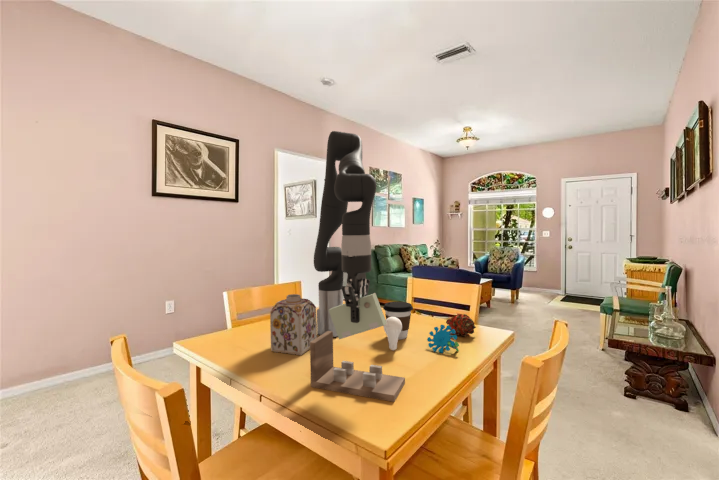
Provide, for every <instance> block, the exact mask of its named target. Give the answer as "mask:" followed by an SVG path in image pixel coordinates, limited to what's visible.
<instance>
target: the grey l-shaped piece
mask: <svg viewBox="0 0 719 480" xmlns="http://www.w3.org/2000/svg"><path fill="white" fill-rule="evenodd" d="M309 354H310V355H309V356H310V357H309V359H310V387H311V388H316V389H320V390H328V391H332V392H338V393H344V394H347V395H348V394H349V395H354V396H360V397H366V398H370V399H376V400H382V401H386V402H387V401H388V402H393V403H394V402H395V401H397V398H398V397H399V395H400V393H401V391H402V390H403V387H404V385H405V384H406V377H405V376H404V377H403V376H397V375H390V374H383V366H382V365H376V364H375V365H374V364H370V365H369V371H364V370H358V369H357V370H356V369H354V366H355V365H354V364H355V363H354V362H353V361H348V360H342V361H341V367H338V366H337V367H336V366H334V337H333V331H327V332H325V333H324V334H322V335H319V336H317V338H316V339H314V340H313V341H311V342H310V349H309Z"/></svg>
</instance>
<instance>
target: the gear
mask: <svg viewBox="0 0 719 480" xmlns="http://www.w3.org/2000/svg"><path fill="white" fill-rule="evenodd" d="M450 329H451V327H450V326H449V325H446V326H445V325H444V324H440V328H439V326H434V328H433V330H434V331H435V334H434V332H433V331H432V330H431V331H429V332H428V334H429V335H430V336H431V337H433V338H431V337H430V336H427V339H426V341H427V342H428V348H430V349H431V348H432V349H431V350H432V351H433V352H434V353H437V350H438V352H439V353H441V354H443V353H444V349H445V350H446V351H447V352H448V351H451V348H452V349H453V350H455V351H456V352H459V351H460V349H459V348H458V347H460V344H459V342H458V341H456V340H457V339H458V335H455V333H456V332H455V330H454V329H452V330H451V331H450ZM452 339H453V340H455V341H453V340H452Z"/></svg>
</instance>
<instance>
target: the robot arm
mask: <svg viewBox="0 0 719 480" xmlns="http://www.w3.org/2000/svg"><path fill="white" fill-rule="evenodd" d="M327 139H328V140H327V146H326V159H325V174H324V176H325V177H324V184H323V191H322V197H321V204H320V205H321V206H320V215H319V224H318V233H317V238H316V242H315V248H314V253H313V266H314V269H315V270H316V271H317V272H321V273H323V272H324V273H325V272H331V273H330V275H329V276H327V277H326V278H323V279H321V280H320V281H319V282H318V309H317V308H316V321H317V336H318V335H319V336H321V335H322V334H324V333H325V332H327V331H333V338H335V337H336V338H337V337H338V335H337V332H336V329H335V327H334V324H333V321H332V318H331V316H330V313H329V309H331V308H334V307H336V306H339V305H342V304H345V303H346V306H347V307H350V308H351V322H353V323H358V322H359V321H360V310H359V307H360V298H362V297H365V296H368V295H369V290H370V283H371V279H369V278H367V276H366V275H367V274H368V273H370V272H371V271H372V242H371V233H370V232H371V226H370V224H371V223H370V222H371V220H370V219H371V212H372V206H373V203H374V199H375V196H376V191H377V181H376V178H375V177H374V176H373V175H372V174H370V173H366V171H365V169H364V165H363V141H362V138H361V136H360V135H359V134H356V133H351V132H350V133H349V132H345V131H338V130H332V131H331V132H329V136H328V138H327ZM336 162H339V163H338V171H337V168H336ZM349 203H361V206H360V207H359V208H358V209H356V210H351V211H350V210H349V211H348V206H349ZM340 227H341V235H342V236H341V247H340V246H329V243H330V240H331V238H332V237H333V236H334V235H335V233H336V232H337V231H338V229H339V228H340ZM366 273H367V274H366ZM344 274H347V278H346V286H345V285H344Z"/></svg>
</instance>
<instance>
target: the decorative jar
mask: <svg viewBox="0 0 719 480" xmlns="http://www.w3.org/2000/svg"><path fill="white" fill-rule="evenodd" d="M285 297H286V299H285V298H284V299H282V300H278V301H276V303H275V304H274V306H273V307H272V308H271V310H270V313H269V316H270V317H269V318H270V320H269V321H270V325H269V326H270V328H269V329H270V350H271V352H272V351H274V352H273V353H278V352H281V353H280V354H286V353H288V354H287V355H295V354H296V355H297V356H302V355H304V354H305V353H306V352H308V351H310V342H311V341H313V340H314V339H316V338H318V335H317V306H316V305H315V304H314V303H313V302H312V301H311V300H310V299H309V298H303V297H301V294H298V293H292V294H287V295H286V296H285Z"/></svg>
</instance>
